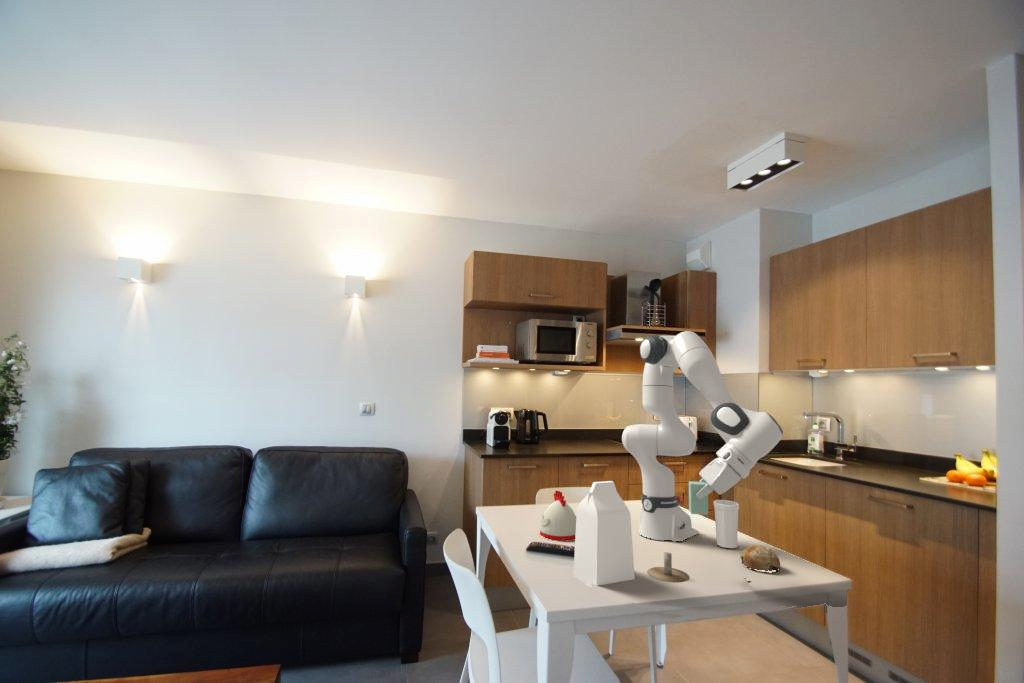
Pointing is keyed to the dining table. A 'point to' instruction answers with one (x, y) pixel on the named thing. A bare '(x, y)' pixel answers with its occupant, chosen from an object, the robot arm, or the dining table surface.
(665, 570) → the post stand
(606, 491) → the milk
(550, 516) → the kitchen timer
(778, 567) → the bread roll
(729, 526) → the cup
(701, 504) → the mint rectangular pillar
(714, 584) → the dining table surface
